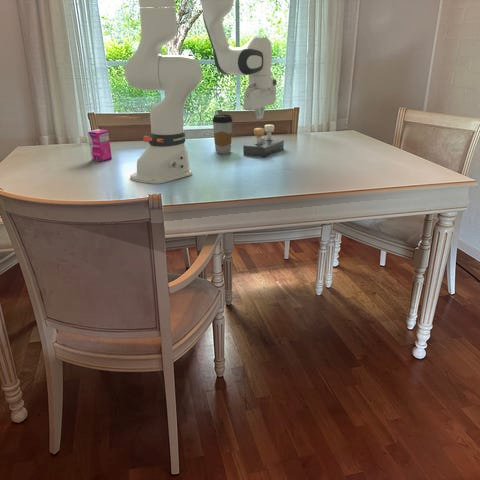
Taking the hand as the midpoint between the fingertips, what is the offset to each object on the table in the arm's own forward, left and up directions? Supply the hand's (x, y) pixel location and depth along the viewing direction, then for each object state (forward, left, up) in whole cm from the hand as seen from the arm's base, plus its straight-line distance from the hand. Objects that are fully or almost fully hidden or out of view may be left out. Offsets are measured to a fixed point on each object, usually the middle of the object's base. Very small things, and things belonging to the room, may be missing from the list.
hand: (259, 118), depth 180 cm
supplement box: (-39, +50, -15) cm, 65 cm away
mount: (+4, 0, -14) cm, 15 cm away
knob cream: (+9, 0, -11) cm, 14 cm away
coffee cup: (-4, +15, -15) cm, 21 cm away
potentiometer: (+4, +2, -10) cm, 11 cm away
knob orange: (0, 0, -11) cm, 11 cm away
